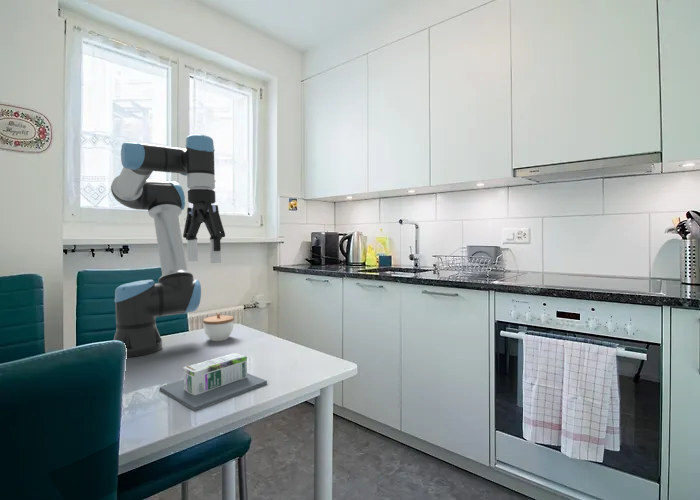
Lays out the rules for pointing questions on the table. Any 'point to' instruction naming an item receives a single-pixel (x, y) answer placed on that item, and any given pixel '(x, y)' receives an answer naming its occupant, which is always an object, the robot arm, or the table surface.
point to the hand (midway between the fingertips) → (203, 262)
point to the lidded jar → (218, 327)
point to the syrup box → (214, 373)
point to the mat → (211, 392)
